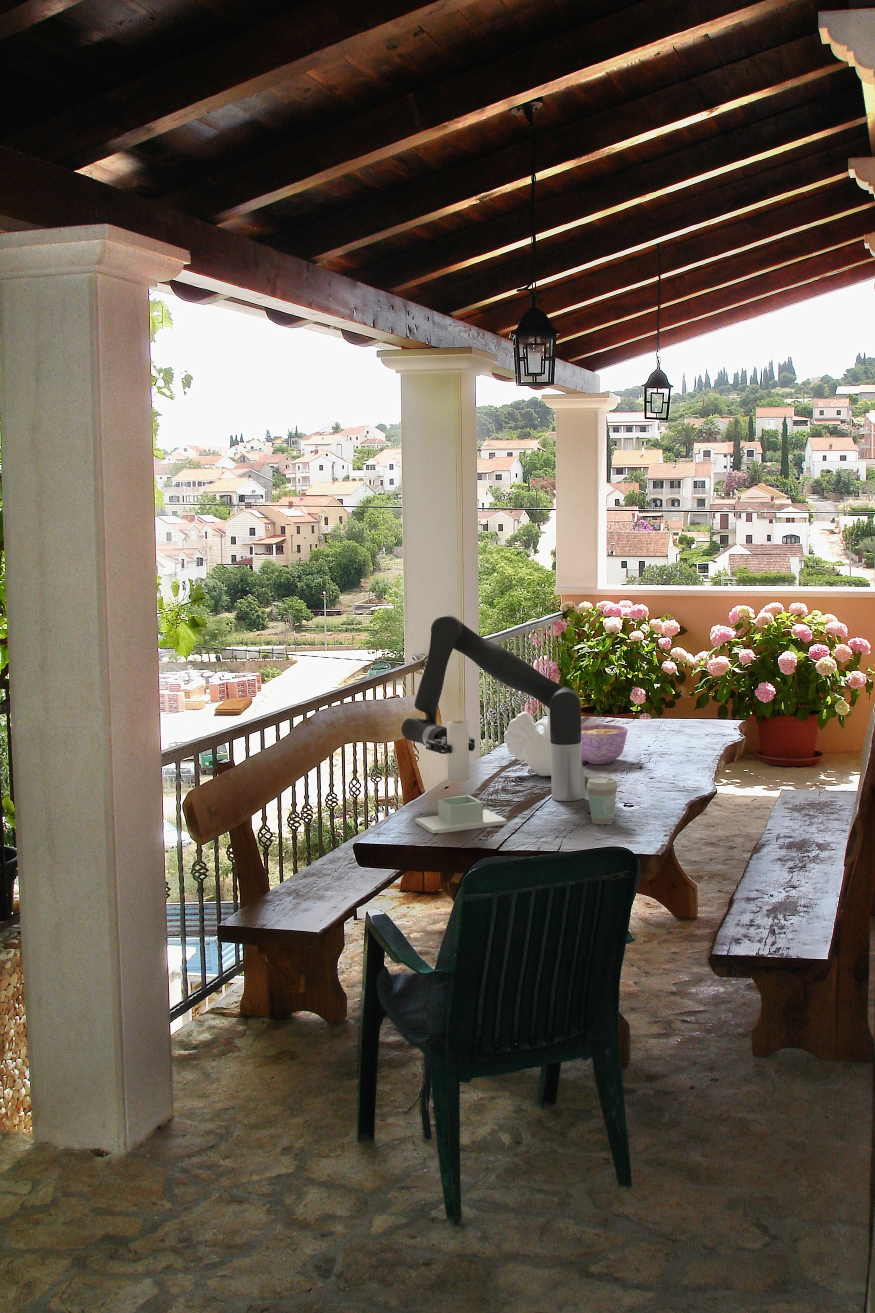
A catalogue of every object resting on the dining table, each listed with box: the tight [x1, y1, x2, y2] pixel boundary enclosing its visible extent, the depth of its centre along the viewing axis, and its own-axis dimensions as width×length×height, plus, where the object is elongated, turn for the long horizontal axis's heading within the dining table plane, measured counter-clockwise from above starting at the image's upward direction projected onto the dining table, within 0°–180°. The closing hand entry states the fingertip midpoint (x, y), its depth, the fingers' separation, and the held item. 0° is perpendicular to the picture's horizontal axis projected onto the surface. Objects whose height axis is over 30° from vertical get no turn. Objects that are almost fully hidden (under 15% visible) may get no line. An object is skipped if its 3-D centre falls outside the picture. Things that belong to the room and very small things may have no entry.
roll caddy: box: [414, 795, 508, 835], centre depth 312 cm, size 22×14×6 cm, turn 112°
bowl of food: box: [581, 723, 629, 765], centre depth 390 cm, size 20×20×12 cm
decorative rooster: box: [503, 705, 551, 777], centre depth 373 cm, size 25×16×25 cm, turn 59°
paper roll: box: [446, 719, 471, 782], centre depth 310 cm, size 6×6×16 cm
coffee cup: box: [585, 776, 618, 825], centre depth 308 cm, size 8×8×12 cm
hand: (461, 748), depth 308 cm, fingers closed on paper roll, 6 cm apart
